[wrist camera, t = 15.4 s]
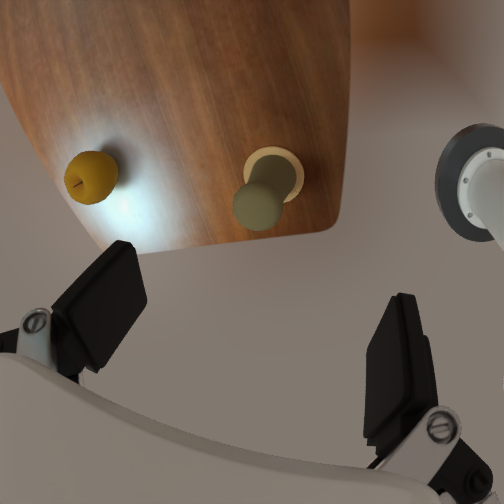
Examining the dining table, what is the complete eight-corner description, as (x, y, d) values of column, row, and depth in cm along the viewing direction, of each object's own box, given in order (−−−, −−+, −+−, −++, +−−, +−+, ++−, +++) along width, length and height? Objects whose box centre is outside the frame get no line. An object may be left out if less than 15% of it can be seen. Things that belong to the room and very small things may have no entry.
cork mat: (307, 150, 35) (307, 151, 35) (300, 206, 40) (300, 208, 39) (246, 142, 37) (244, 143, 36) (243, 197, 41) (242, 199, 41)
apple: (119, 134, 40) (81, 152, 33) (137, 183, 44) (103, 207, 37) (85, 150, 42) (49, 168, 35) (102, 193, 47) (69, 217, 40)
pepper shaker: (301, 160, 36) (290, 193, 27) (291, 202, 39) (278, 246, 30) (254, 150, 36) (227, 178, 27) (248, 191, 40) (221, 231, 31)
